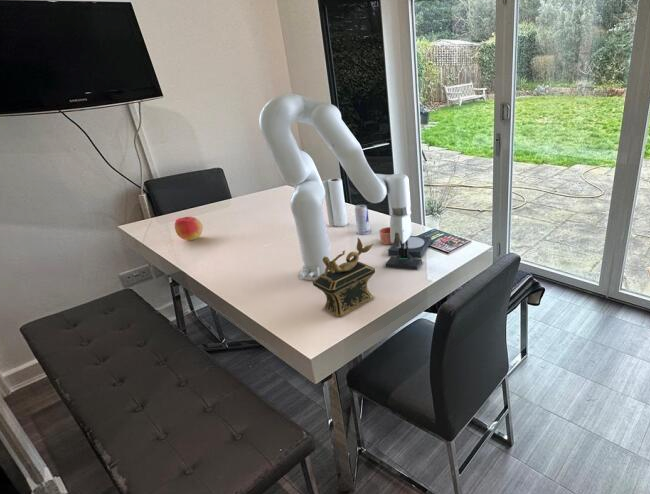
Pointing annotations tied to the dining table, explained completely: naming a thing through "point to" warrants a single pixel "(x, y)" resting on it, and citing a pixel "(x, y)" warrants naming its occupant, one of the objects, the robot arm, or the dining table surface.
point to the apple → (188, 228)
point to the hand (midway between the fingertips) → (404, 257)
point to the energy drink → (362, 219)
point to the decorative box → (345, 282)
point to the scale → (413, 246)
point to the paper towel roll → (335, 202)
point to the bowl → (385, 236)
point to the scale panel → (404, 263)
